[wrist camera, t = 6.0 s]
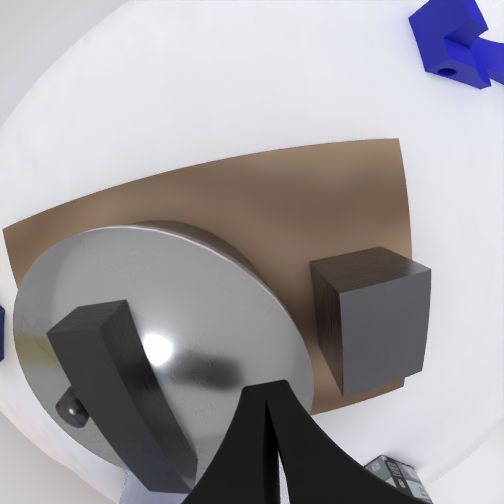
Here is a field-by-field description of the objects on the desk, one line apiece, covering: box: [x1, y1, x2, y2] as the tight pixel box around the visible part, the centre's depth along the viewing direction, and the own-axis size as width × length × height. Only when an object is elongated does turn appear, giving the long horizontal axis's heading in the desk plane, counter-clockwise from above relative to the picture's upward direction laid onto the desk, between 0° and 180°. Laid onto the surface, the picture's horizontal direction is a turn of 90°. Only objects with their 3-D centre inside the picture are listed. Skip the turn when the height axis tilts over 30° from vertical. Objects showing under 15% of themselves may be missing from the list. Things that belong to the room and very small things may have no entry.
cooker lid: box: [13, 225, 314, 494], centre depth 8 cm, size 13×13×3 cm
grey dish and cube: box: [129, 220, 431, 398], centre depth 12 cm, size 12×18×4 cm, turn 101°
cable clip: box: [408, 0, 504, 89], centre depth 9 cm, size 12×4×6 cm, turn 95°
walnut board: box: [3, 138, 412, 415], centre depth 15 cm, size 16×24×1 cm, turn 101°
